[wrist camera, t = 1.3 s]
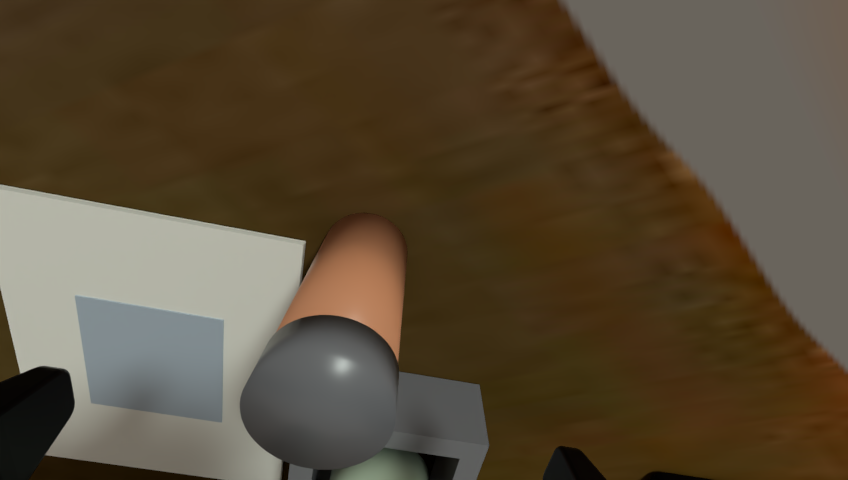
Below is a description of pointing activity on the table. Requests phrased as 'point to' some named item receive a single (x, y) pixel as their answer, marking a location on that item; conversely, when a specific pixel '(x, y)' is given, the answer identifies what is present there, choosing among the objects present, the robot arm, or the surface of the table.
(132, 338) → the paper
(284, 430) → the marker
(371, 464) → the button
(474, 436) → the button housing
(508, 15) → the table surface
